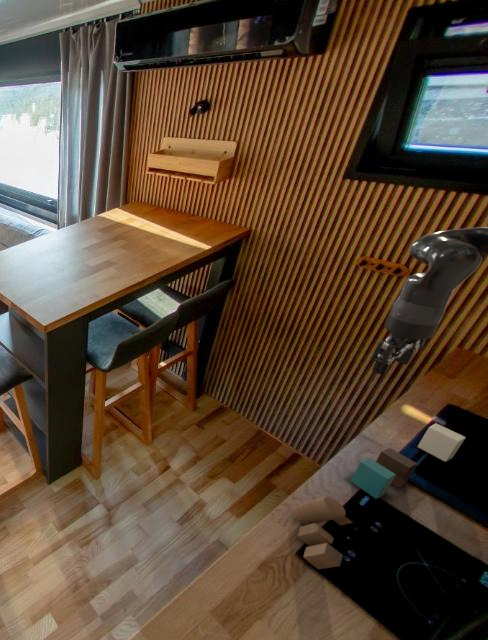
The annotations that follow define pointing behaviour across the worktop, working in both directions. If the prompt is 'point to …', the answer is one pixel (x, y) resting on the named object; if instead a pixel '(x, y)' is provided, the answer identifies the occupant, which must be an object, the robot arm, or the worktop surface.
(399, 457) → the brown rectangular block
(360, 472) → the tile
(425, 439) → the tile
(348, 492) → the worktop surface
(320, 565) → the wooden block set
